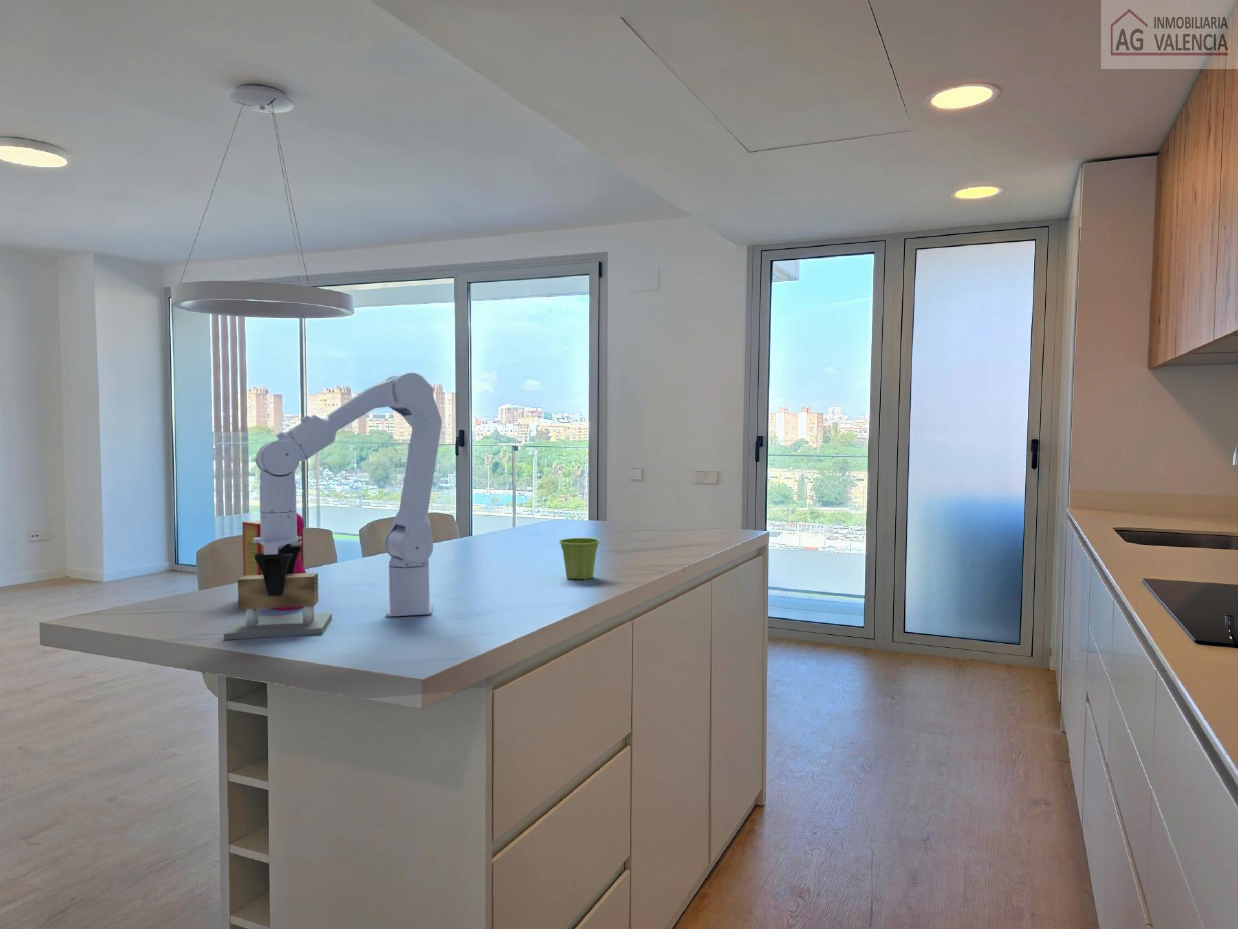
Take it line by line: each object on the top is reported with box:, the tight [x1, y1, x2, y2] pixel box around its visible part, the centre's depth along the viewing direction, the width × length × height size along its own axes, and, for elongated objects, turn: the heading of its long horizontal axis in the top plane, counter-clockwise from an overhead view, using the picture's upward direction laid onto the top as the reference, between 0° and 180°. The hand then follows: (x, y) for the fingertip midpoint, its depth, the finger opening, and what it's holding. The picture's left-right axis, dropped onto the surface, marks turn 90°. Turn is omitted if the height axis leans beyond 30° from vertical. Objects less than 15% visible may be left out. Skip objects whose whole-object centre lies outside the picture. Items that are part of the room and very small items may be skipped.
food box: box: [241, 520, 304, 577], centre depth 164 cm, size 10×6×16 cm
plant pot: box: [558, 537, 601, 581], centre depth 183 cm, size 9×9×9 cm
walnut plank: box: [237, 572, 319, 610], centre depth 136 cm, size 12×4×5 cm, turn 102°
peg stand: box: [223, 606, 333, 641], centre depth 136 cm, size 12×15×4 cm
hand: (280, 591), depth 136 cm, fingers open, 7 cm apart
